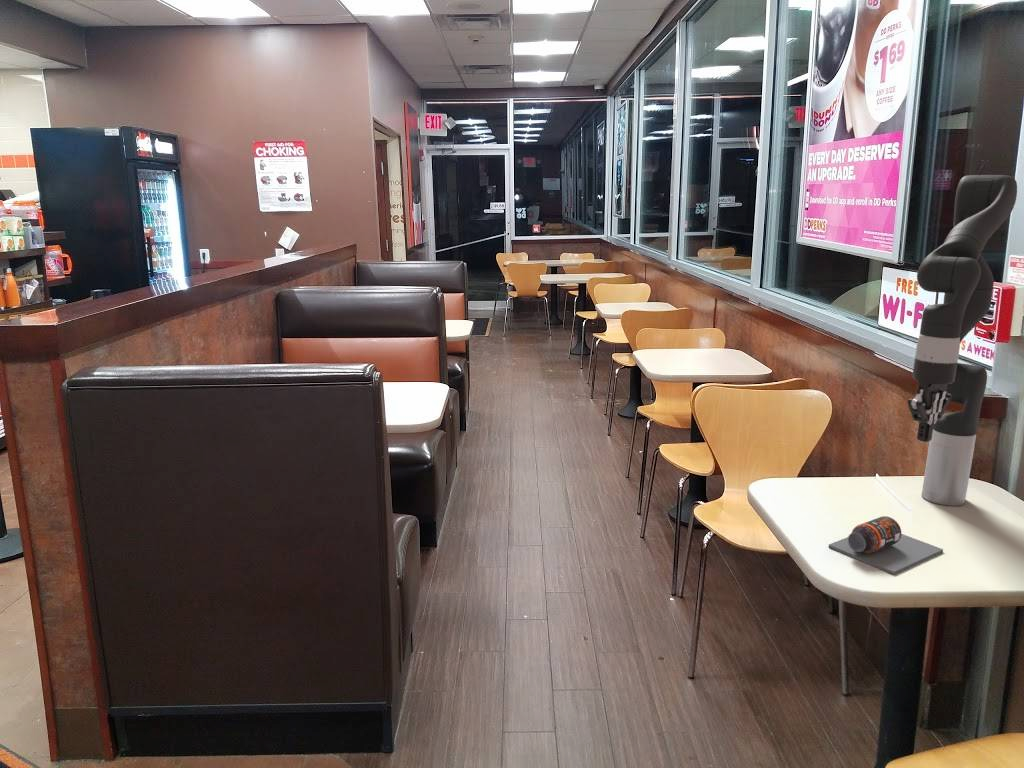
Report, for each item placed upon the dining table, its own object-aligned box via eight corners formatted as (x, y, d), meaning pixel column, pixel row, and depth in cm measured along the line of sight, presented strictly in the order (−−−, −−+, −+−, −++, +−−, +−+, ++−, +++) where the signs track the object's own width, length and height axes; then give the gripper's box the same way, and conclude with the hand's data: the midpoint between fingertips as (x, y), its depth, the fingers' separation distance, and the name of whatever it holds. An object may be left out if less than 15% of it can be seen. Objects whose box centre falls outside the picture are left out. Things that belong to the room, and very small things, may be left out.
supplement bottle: (908, 530, 154) (876, 544, 148) (892, 549, 158) (860, 563, 151) (885, 509, 158) (852, 521, 152) (870, 528, 161) (837, 541, 155)
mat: (878, 527, 167) (878, 525, 167) (942, 552, 156) (943, 549, 156) (828, 547, 157) (828, 544, 157) (893, 574, 146) (893, 571, 146)
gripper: (937, 364, 145) (924, 451, 150) (972, 357, 153) (959, 440, 157) (899, 357, 151) (888, 440, 156) (934, 351, 159) (923, 430, 163)
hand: (924, 440), depth 156 cm, fingers closed
